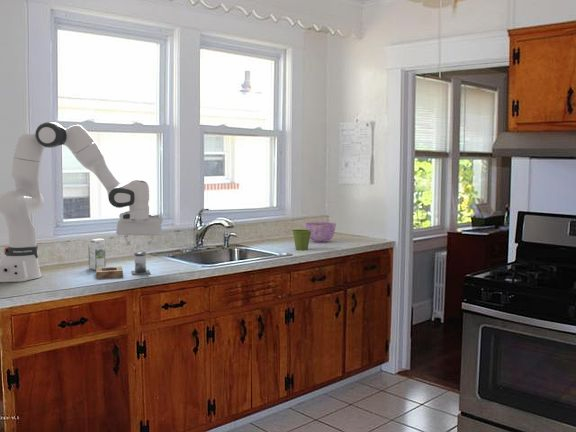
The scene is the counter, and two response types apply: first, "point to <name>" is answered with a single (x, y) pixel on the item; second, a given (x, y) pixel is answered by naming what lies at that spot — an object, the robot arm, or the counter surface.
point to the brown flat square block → (109, 272)
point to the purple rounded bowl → (321, 231)
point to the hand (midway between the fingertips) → (139, 244)
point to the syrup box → (96, 253)
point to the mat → (140, 273)
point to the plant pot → (301, 238)
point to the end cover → (140, 262)
